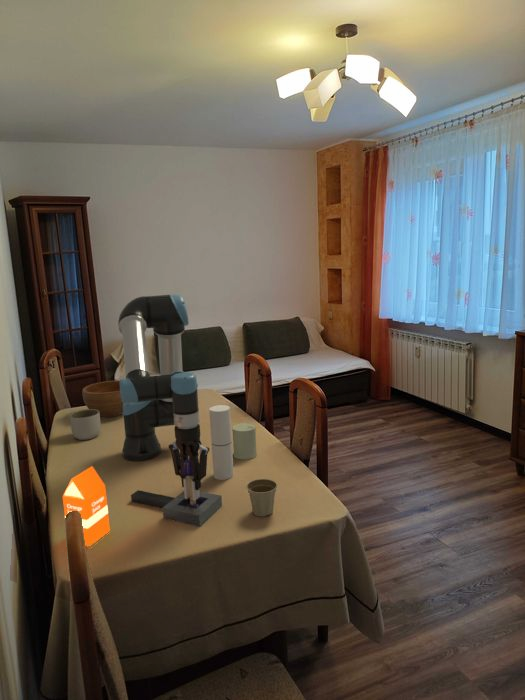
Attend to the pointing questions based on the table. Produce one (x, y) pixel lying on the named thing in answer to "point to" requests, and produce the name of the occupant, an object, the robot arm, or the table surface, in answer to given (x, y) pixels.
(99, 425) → the planter
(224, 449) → the cylindrical container
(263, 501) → the flower pot
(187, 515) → the block
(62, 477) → the table surface
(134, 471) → the table surface
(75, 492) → the orange juice
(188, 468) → the toy lamp
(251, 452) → the can
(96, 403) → the bowl
